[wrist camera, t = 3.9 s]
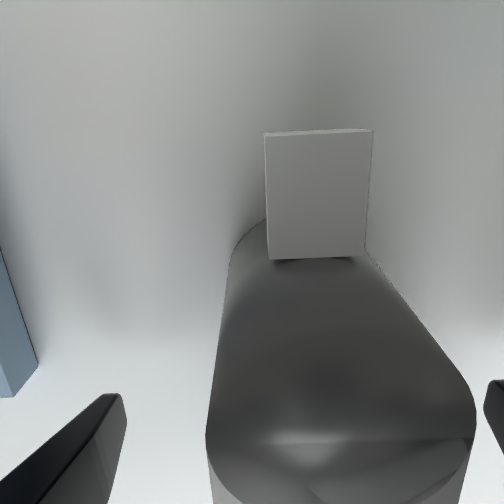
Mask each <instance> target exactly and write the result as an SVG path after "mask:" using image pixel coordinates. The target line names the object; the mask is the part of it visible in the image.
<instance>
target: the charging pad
mask: <svg viewBox="0 0 504 504" xmlns="http://www.w3.org/2000/svg"><path fill="white" fill-rule="evenodd" d="M37 368H38V363H37V360H36V357H35V354H34V351H33V348H32V345H31V342H30V339H29V336H28V333H27V330H26V327H25V324H24V321H23V318H22V315H21V312H20V309H19V306H18V303H17V300H16V297H15V294H14V291H13V288H12V285H11V282H10V279H9V276H8V273H7V270H6V267H5V264H4V261H3V258H2V255H1V252H0V398H7V397H14V396H15V395H16V393H17V392H18V391H19V390H20V389H21V387H22V386H23V385H24V384H25V382H26V381H27V380H28V379H29V377H30V376H31V375H32V374H33V373H34V371H35V370H36V369H37Z"/></svg>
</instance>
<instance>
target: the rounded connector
mask: <svg viewBox="0 0 504 504" xmlns="http://www.w3.org/2000/svg"><path fill="white" fill-rule="evenodd" d="M372 140H373V131H369V130H365V129H361V128H349V129H328V130H308V131H288V132H268V133H264V159H265V189H266V218H267V219H265V220H263V221H261V222H260V223H258V224H257V225H255V226H254V227H253V228H252V229H250V230H249V231H248V232H247V233H246V234H245V235H244V237H243V238H242V239H241V240H240V241H239V243H238V245H237V246H236V248H235V250H234V252H233V254H232V257H231V260H230V264H229V271H228V278H227V285H226V292H225V299H224V306H223V313H222V320H221V327H220V334H219V341H218V348H217V355H216V362H215V369H214V376H213V383H212V390H211V397H210V404H209V411H208V418H207V425H206V433H205V438H206V451H207V459H208V467H209V474H210V482H211V490H212V497H213V504H458V501H459V497H460V493H461V489H462V485H463V481H464V477H465V473H466V469H467V465H468V461H469V457H470V453H471V449H472V445H473V441H474V437H475V431H476V425H477V423H476V408H475V403H474V398H473V396H472V393H471V391H470V388H469V386H468V384H467V383H466V381H465V380H464V378H463V377H462V375H461V373H460V372H459V371H458V370H457V368H456V367H455V366H454V364H453V363H452V362H451V360H450V359H449V358H448V357H447V355H446V354H445V353H444V351H443V350H442V349H441V347H440V346H439V345H438V344H437V342H436V341H435V340H434V338H433V337H432V336H431V334H430V333H429V332H428V331H427V329H426V328H425V327H424V325H423V324H422V323H421V322H420V320H419V319H418V318H417V316H416V315H415V314H414V312H413V311H412V310H411V309H410V307H409V306H408V305H407V303H406V302H405V301H404V299H403V298H402V297H401V296H400V294H399V293H398V292H397V290H396V289H395V288H394V287H393V285H392V284H391V283H390V281H389V280H388V279H387V277H386V276H385V275H384V274H383V272H382V271H381V270H380V268H379V267H378V266H377V264H376V263H375V262H374V261H373V259H372V258H371V257H370V255H369V254H368V253H367V252H366V250H365V249H364V247H365V234H366V221H367V207H368V194H369V180H370V167H371V153H372Z"/></svg>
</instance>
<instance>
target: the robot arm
mask: <svg viewBox="0 0 504 504" xmlns="http://www.w3.org/2000/svg"><path fill="white" fill-rule="evenodd" d="M483 410H484V414H485V417H486V419H487V421H488V423H489V425H490V427H491V429H492V431H493V434H494V436H495V438H496V440H497V442H498V444H499V446H500V448H501V450H502V452H503V454H504V380H492V381H491V382H490V383H489V385H488V389H487V393H486V397H485V401H484V405H483ZM126 426H127V418H126V413H125V409H124V405H123V400H122V397H121V395H120V394H118V393H109V394H103V395H101V396H100V397H98V398H97V399H96V400H95V401H94V402H93V403H91V404H90V405H89V406H88V407H87V408H86V409H84V410H83V411H82V412H81V413H80V414H78V415H77V416H76V417H75V418H74V419H73V420H71V421H70V422H69V423H68V424H67V425H66V426H64V427H63V428H62V429H61V430H60V431H58V432H57V433H56V434H55V435H54V436H53V437H51V438H50V439H49V440H48V441H47V442H45V443H44V444H43V445H42V446H41V447H40V448H38V449H37V450H36V451H35V452H34V453H33V454H31V455H30V456H29V457H28V458H27V459H25V460H24V461H23V462H22V463H21V464H20V465H18V466H17V467H16V468H15V469H14V470H13V471H11V472H10V473H9V474H8V475H7V476H5V477H4V478H3V479H2V480H1V481H0V504H107V503H108V500H109V497H110V494H111V490H112V486H113V482H114V478H115V474H116V470H117V465H118V461H119V457H120V453H121V448H122V444H123V440H124V436H125V431H126Z"/></svg>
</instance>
